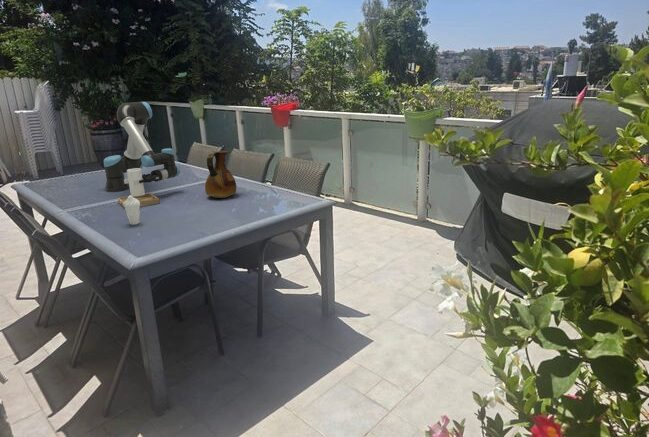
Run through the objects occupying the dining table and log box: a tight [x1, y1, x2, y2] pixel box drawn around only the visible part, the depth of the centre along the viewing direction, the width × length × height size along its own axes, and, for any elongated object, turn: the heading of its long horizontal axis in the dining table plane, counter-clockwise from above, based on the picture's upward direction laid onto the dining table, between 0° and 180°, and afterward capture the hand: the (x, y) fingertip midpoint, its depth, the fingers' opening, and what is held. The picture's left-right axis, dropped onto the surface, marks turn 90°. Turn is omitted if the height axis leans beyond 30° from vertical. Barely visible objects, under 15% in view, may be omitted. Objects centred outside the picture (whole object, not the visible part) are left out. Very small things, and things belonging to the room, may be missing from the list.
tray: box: [117, 192, 161, 209], centre depth 286 cm, size 20×20×3 cm
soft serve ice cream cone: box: [123, 194, 141, 226], centre depth 244 cm, size 8×8×16 cm
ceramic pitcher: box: [204, 150, 237, 199], centre depth 292 cm, size 20×20×30 cm
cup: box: [126, 168, 146, 196], centre depth 282 cm, size 8×8×16 cm
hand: (129, 182), depth 278 cm, fingers closed on cup, 8 cm apart
